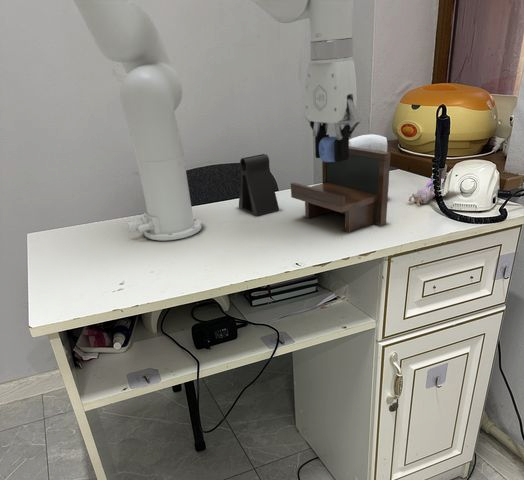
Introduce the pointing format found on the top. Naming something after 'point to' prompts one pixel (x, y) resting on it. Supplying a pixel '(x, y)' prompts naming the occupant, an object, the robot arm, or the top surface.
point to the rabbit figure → (425, 193)
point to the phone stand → (257, 186)
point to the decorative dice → (327, 149)
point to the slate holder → (350, 189)
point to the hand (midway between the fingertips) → (331, 157)
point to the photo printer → (369, 142)
